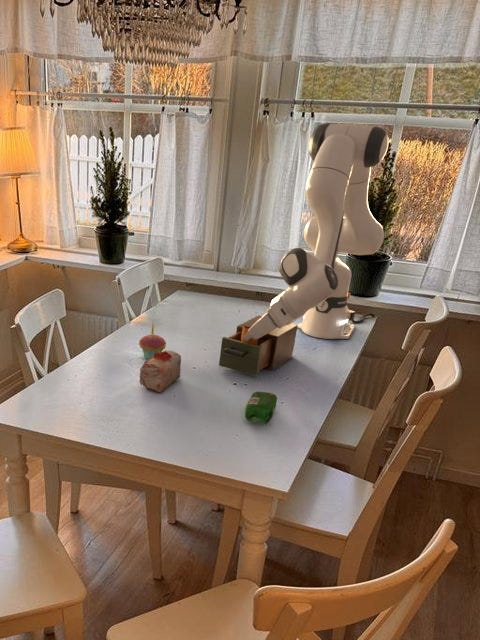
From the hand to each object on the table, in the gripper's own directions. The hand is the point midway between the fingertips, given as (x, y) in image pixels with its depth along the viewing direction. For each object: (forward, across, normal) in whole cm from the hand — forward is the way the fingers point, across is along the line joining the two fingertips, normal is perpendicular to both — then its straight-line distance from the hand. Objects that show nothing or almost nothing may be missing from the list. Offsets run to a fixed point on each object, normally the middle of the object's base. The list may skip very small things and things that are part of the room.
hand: (248, 335), depth 197 cm
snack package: (-3, +31, +18) cm, 36 cm away
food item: (+20, +25, -4) cm, 32 cm away
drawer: (+6, +1, +7) cm, 10 cm away
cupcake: (+27, +7, -12) cm, 31 cm away
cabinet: (+6, -12, +9) cm, 16 cm away
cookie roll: (+3, 0, +4) cm, 4 cm away
